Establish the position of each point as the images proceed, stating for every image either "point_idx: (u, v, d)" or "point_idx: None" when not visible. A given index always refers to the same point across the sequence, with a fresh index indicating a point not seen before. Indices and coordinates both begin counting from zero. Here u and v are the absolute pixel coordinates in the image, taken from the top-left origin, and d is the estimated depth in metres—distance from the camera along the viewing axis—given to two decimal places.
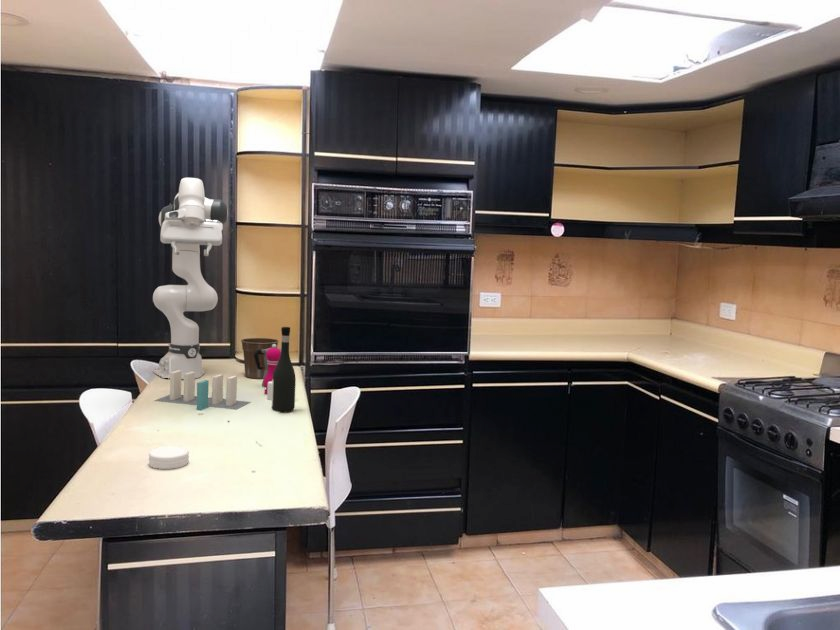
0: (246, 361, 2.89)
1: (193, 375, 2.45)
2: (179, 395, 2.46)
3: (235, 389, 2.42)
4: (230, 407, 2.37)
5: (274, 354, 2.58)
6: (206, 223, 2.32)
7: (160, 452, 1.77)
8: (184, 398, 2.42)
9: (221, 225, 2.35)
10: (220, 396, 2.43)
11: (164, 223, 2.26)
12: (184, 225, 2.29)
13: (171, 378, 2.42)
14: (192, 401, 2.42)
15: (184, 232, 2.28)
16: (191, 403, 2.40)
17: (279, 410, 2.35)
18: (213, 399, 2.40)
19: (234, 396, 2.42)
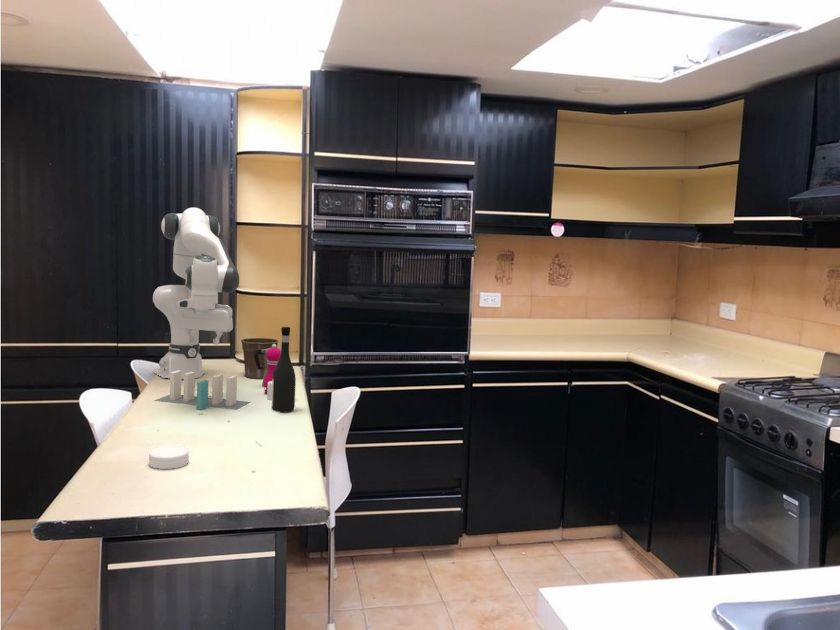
0: (246, 361, 2.89)
1: (193, 375, 2.45)
2: (179, 395, 2.46)
3: (235, 389, 2.42)
4: (230, 407, 2.37)
5: (274, 354, 2.58)
6: (214, 311, 2.28)
7: (160, 452, 1.77)
8: (184, 398, 2.42)
9: (230, 311, 2.28)
10: (220, 396, 2.43)
11: (177, 312, 2.30)
12: (195, 313, 2.29)
13: (171, 378, 2.42)
14: (192, 401, 2.42)
15: (194, 321, 2.29)
16: (191, 403, 2.40)
17: (279, 410, 2.35)
18: (213, 399, 2.40)
19: (234, 396, 2.42)
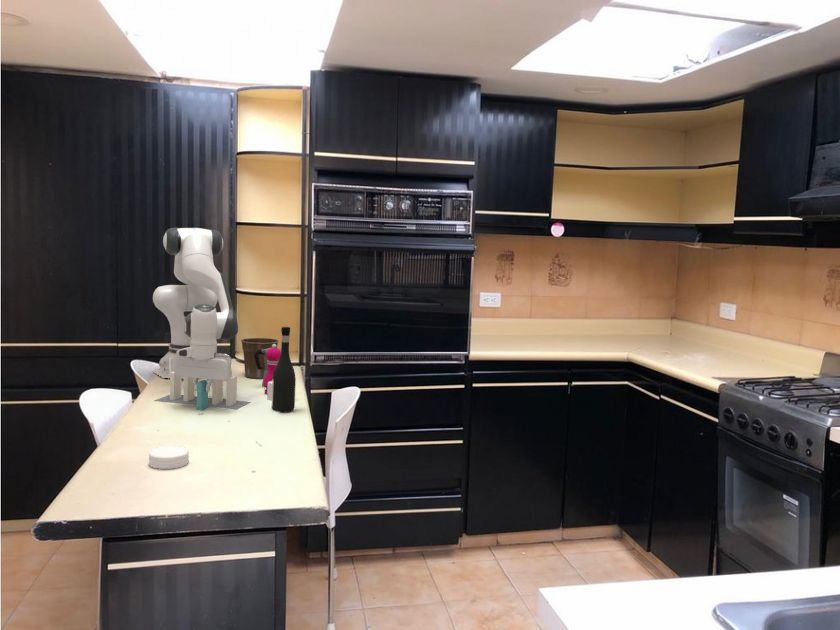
0: (246, 361, 2.89)
1: None
2: (179, 395, 2.46)
3: (235, 389, 2.42)
4: (230, 407, 2.37)
5: (274, 354, 2.58)
6: (213, 360, 2.29)
7: (160, 452, 1.77)
8: (184, 398, 2.42)
9: (229, 360, 2.30)
10: (220, 396, 2.43)
11: (176, 360, 2.31)
12: (194, 362, 2.31)
13: (171, 378, 2.42)
14: (192, 401, 2.42)
15: (194, 370, 2.31)
16: (191, 403, 2.40)
17: (279, 410, 2.35)
18: (213, 399, 2.40)
19: (234, 396, 2.42)
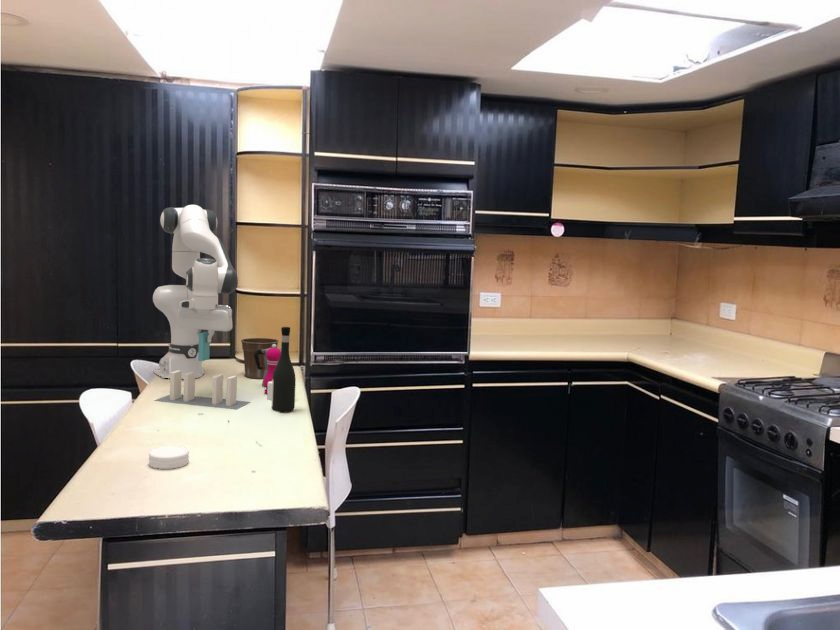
0: (246, 361, 2.89)
1: (193, 375, 2.45)
2: (179, 395, 2.46)
3: (235, 389, 2.42)
4: (230, 407, 2.37)
5: (274, 354, 2.58)
6: (215, 311, 2.37)
7: (160, 452, 1.77)
8: (184, 398, 2.42)
9: (230, 311, 2.38)
10: (220, 396, 2.43)
11: (178, 312, 2.39)
12: (196, 313, 2.39)
13: (171, 378, 2.42)
14: (192, 401, 2.42)
15: (196, 321, 2.39)
16: (191, 403, 2.40)
17: (279, 410, 2.35)
18: (213, 399, 2.40)
19: (234, 396, 2.42)
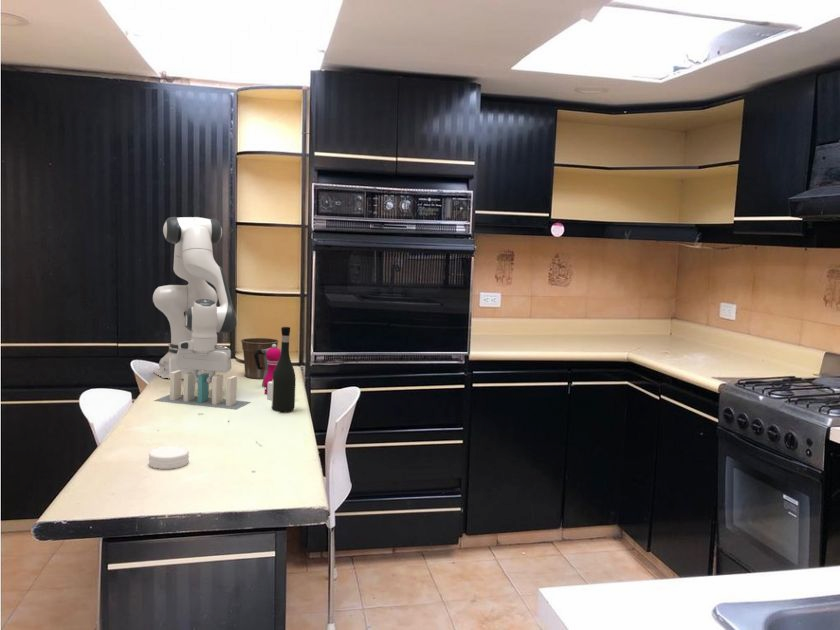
0: (246, 361, 2.89)
1: (193, 375, 2.45)
2: (179, 395, 2.46)
3: (235, 389, 2.42)
4: (230, 407, 2.37)
5: (274, 354, 2.58)
6: (214, 353, 2.39)
7: (160, 452, 1.77)
8: (184, 398, 2.42)
9: (229, 353, 2.39)
10: (220, 396, 2.43)
11: (178, 353, 2.41)
12: (195, 354, 2.40)
13: (171, 378, 2.42)
14: (192, 401, 2.42)
15: (195, 362, 2.41)
16: (191, 403, 2.40)
17: (279, 410, 2.35)
18: (213, 399, 2.40)
19: (234, 396, 2.42)
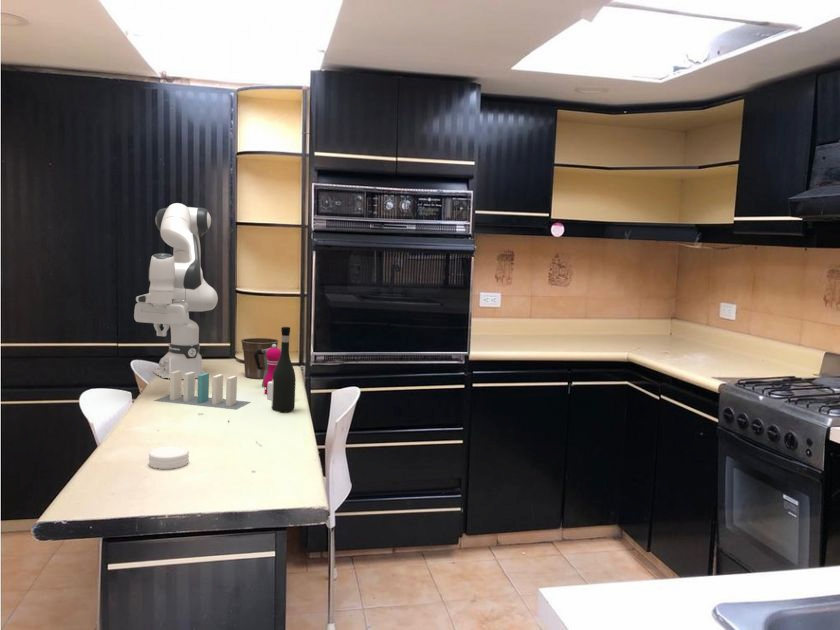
0: (246, 361, 2.89)
1: (193, 375, 2.45)
2: (179, 395, 2.46)
3: (235, 389, 2.42)
4: (230, 407, 2.37)
5: (274, 354, 2.58)
6: (171, 306, 2.40)
7: (160, 452, 1.77)
8: (184, 398, 2.42)
9: (186, 306, 2.41)
10: (220, 396, 2.43)
11: (136, 307, 2.42)
12: (153, 308, 2.42)
13: (171, 378, 2.42)
14: (192, 401, 2.42)
15: (153, 315, 2.42)
16: (191, 403, 2.40)
17: (279, 410, 2.35)
18: (213, 399, 2.40)
19: (234, 396, 2.42)
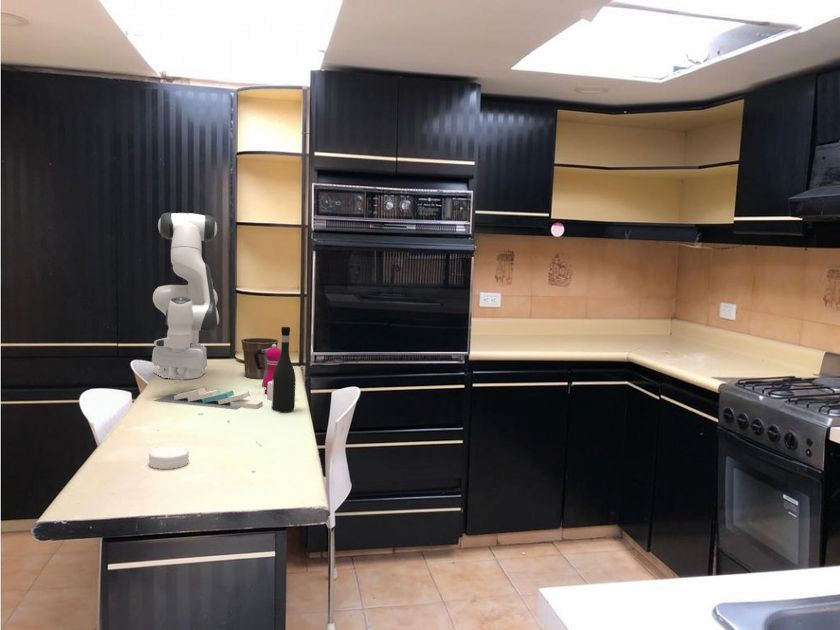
0: (246, 361, 2.89)
1: (215, 394, 2.44)
2: None
3: None
4: (230, 407, 2.37)
5: (274, 354, 2.58)
6: (189, 350, 2.41)
7: (160, 452, 1.77)
8: (190, 398, 2.42)
9: (204, 350, 2.41)
10: None
11: (154, 350, 2.42)
12: (171, 352, 2.42)
13: (193, 393, 2.41)
14: (192, 401, 2.42)
15: (171, 359, 2.42)
16: (191, 403, 2.40)
17: (279, 410, 2.35)
18: (222, 400, 2.39)
19: None
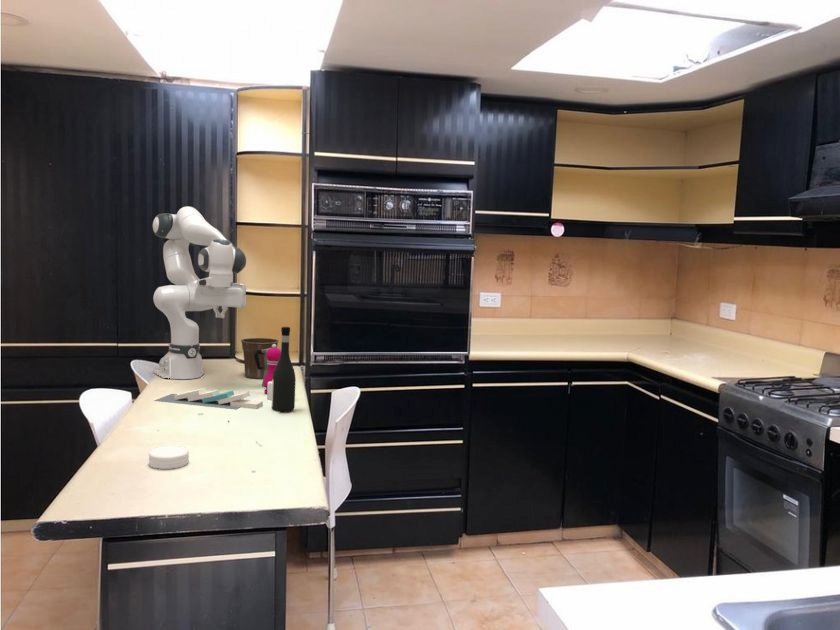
0: (246, 361, 2.89)
1: (215, 394, 2.44)
2: None
3: None
4: (230, 407, 2.37)
5: (274, 354, 2.58)
6: (230, 289, 2.55)
7: (160, 452, 1.77)
8: (190, 398, 2.42)
9: (244, 289, 2.55)
10: None
11: (196, 290, 2.57)
12: (212, 291, 2.56)
13: (193, 393, 2.41)
14: (192, 401, 2.42)
15: (212, 298, 2.57)
16: (191, 403, 2.40)
17: (279, 410, 2.35)
18: (222, 400, 2.39)
19: None
